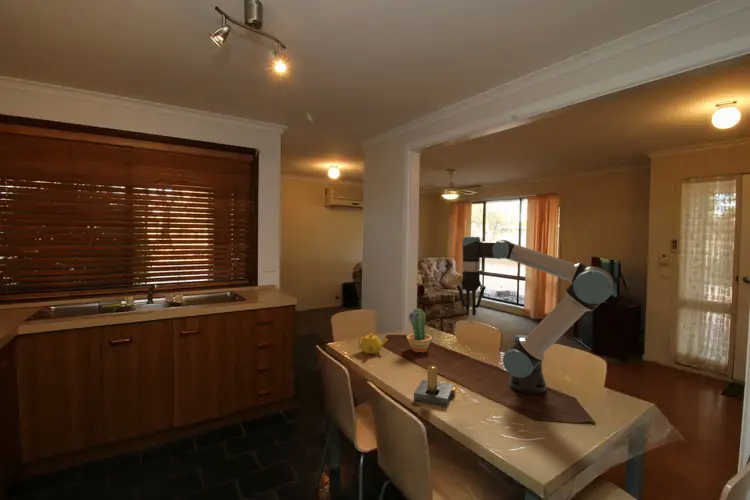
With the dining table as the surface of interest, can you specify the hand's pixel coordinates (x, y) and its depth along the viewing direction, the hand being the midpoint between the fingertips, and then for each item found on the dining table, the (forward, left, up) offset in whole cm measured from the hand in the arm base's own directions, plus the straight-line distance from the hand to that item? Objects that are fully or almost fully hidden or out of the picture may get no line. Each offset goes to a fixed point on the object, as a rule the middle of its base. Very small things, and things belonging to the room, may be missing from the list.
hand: (470, 322), depth 158 cm
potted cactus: (+35, -38, -30) cm, 60 cm away
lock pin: (+12, +13, -29) cm, 34 cm away
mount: (+13, +17, -29) cm, 36 cm away
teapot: (+59, -23, -30) cm, 70 cm away
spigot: (+13, +20, -29) cm, 38 cm away
